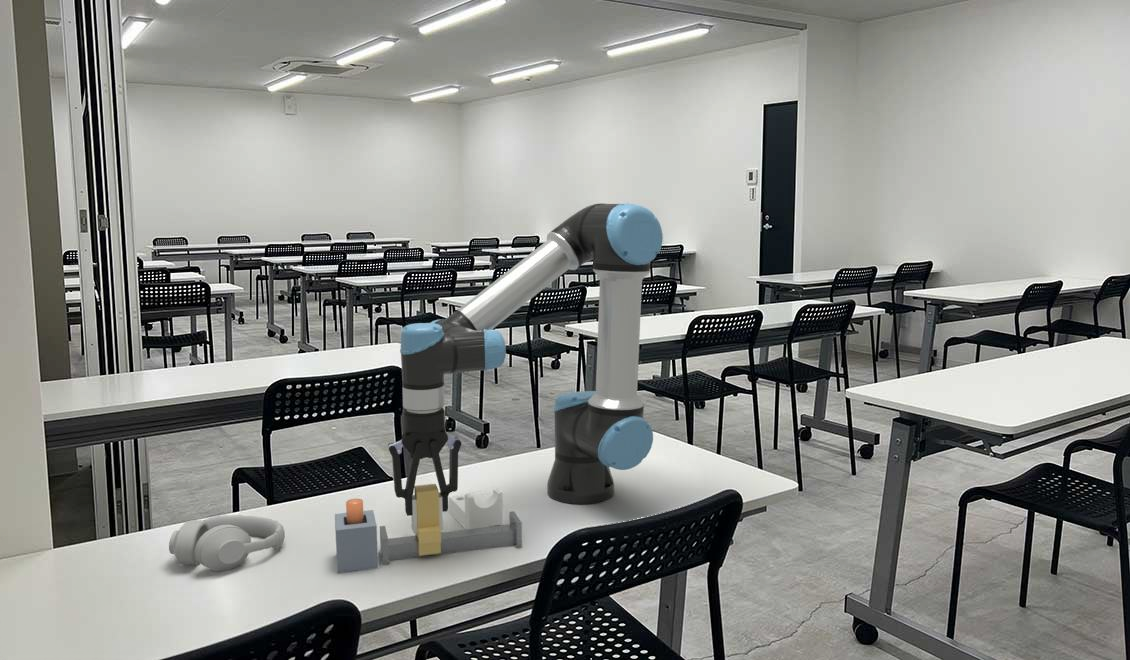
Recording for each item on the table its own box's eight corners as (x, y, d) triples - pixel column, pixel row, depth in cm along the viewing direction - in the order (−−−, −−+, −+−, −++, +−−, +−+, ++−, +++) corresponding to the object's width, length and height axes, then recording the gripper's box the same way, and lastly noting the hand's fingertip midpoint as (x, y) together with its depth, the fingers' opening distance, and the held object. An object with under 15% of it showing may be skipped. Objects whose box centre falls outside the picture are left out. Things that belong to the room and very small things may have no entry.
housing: (374, 550, 159) (373, 509, 157) (378, 567, 151) (376, 525, 150) (336, 554, 157) (334, 514, 155) (338, 572, 149) (336, 530, 148)
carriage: (435, 539, 161) (434, 480, 159) (441, 554, 155) (439, 493, 153) (415, 542, 160) (413, 482, 158) (419, 557, 154) (417, 495, 152)
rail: (514, 535, 165) (514, 511, 165) (521, 547, 160) (521, 522, 159) (380, 551, 158) (379, 526, 157) (383, 564, 152) (382, 538, 151)
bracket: (502, 528, 170) (502, 492, 168) (469, 534, 167) (469, 498, 165) (480, 507, 181) (480, 473, 180) (449, 512, 178) (448, 478, 177)
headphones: (229, 581, 144) (301, 551, 163) (231, 537, 144) (303, 512, 163) (146, 566, 150) (225, 539, 169) (148, 523, 150) (226, 500, 169)
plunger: (363, 523, 155) (362, 497, 154) (364, 529, 152) (363, 503, 151) (346, 525, 154) (345, 499, 153) (347, 531, 151) (346, 505, 150)
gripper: (466, 399, 159) (468, 516, 163) (374, 406, 154) (379, 527, 158) (473, 409, 152) (476, 531, 156) (377, 417, 147) (382, 542, 151)
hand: (427, 528), depth 157 cm, fingers closed on carriage, 4 cm apart
